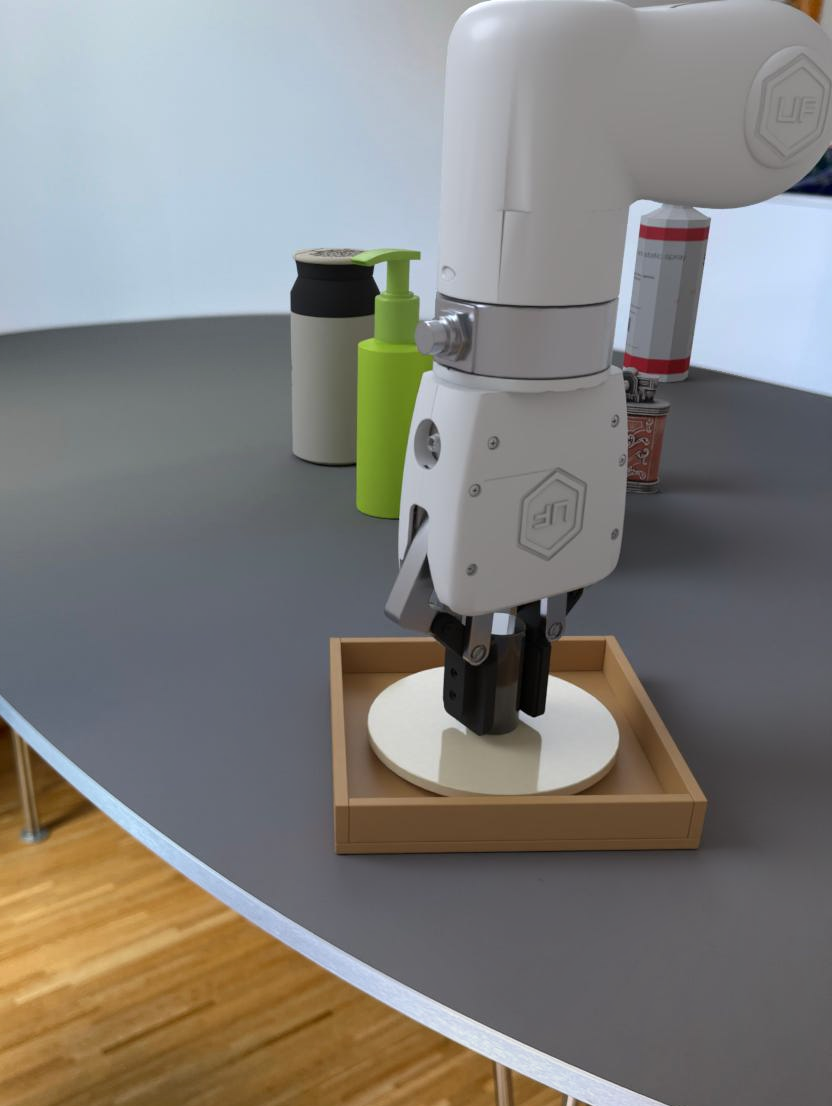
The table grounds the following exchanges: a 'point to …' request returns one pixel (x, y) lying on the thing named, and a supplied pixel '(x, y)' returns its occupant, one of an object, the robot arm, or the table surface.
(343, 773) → the tray
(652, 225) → the glue bottle
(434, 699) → the tin lid
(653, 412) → the lighter
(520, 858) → the table surface
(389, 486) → the soap dispenser
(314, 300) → the travel mug
